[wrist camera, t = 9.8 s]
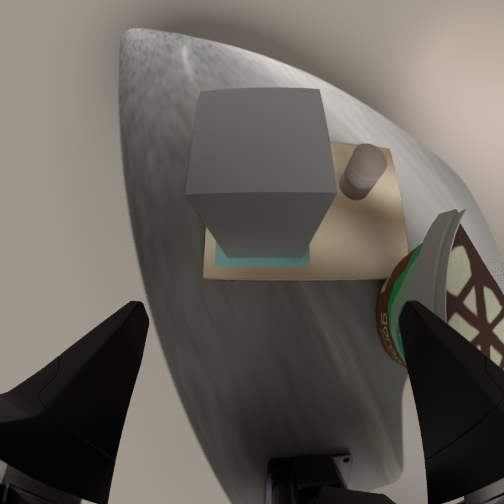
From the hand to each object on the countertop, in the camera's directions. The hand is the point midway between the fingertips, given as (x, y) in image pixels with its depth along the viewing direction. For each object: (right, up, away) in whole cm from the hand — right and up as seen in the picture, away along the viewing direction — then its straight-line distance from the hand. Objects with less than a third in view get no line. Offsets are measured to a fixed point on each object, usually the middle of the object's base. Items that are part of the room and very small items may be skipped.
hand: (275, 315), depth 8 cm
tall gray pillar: (0, +4, +10) cm, 11 cm away
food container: (+11, -4, +10) cm, 15 cm away
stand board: (+4, +5, +12) cm, 13 cm away
